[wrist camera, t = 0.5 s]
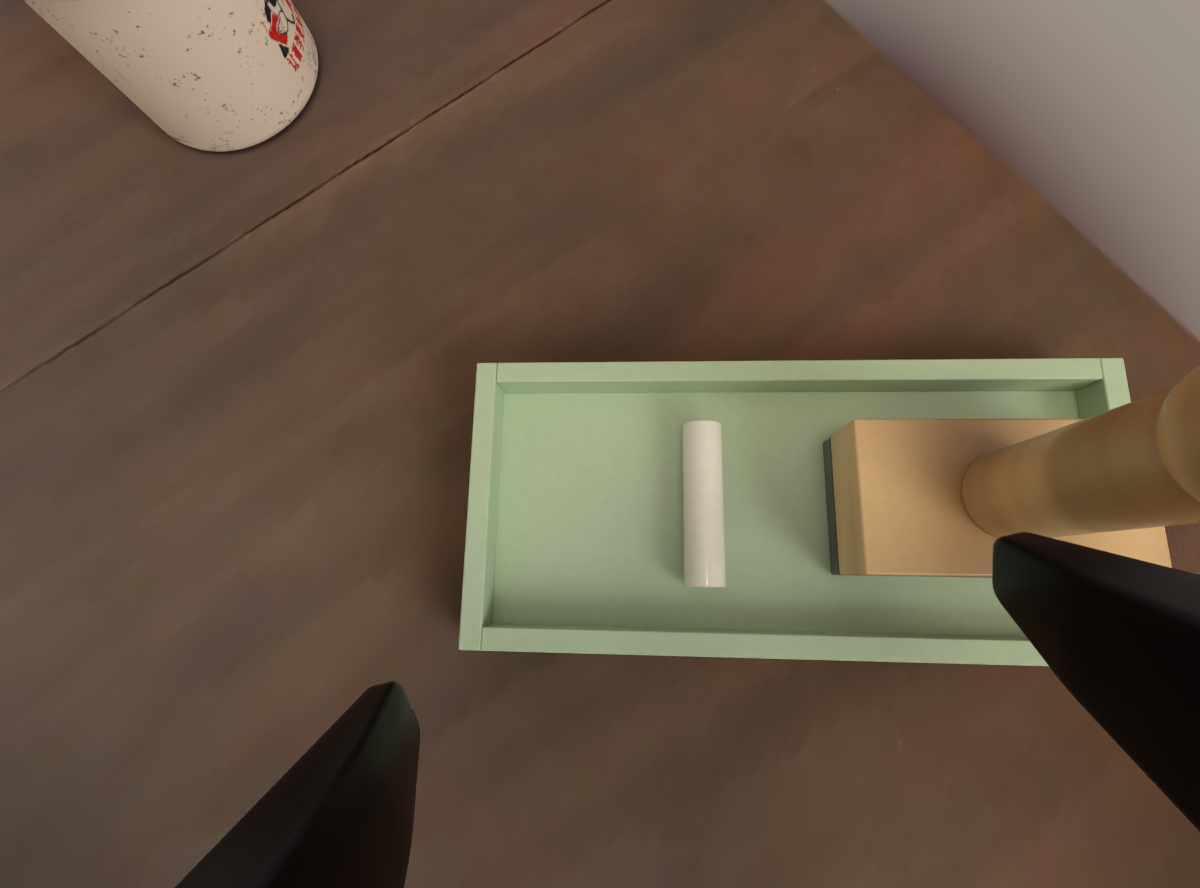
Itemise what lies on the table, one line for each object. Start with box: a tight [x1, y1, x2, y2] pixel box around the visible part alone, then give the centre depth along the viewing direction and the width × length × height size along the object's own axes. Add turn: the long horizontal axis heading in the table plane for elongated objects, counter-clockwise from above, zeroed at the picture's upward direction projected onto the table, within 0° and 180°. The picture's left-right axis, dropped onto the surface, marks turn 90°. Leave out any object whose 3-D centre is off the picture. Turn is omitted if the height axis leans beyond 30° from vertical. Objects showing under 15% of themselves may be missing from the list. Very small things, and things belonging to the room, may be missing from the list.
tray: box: [459, 358, 1131, 666], centre depth 22 cm, size 24×11×2 cm, turn 89°
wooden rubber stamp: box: [823, 365, 1200, 578], centre depth 16 cm, size 9×5×14 cm, turn 89°
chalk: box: [682, 420, 726, 587], centre depth 22 cm, size 6×2×2 cm, turn 179°
